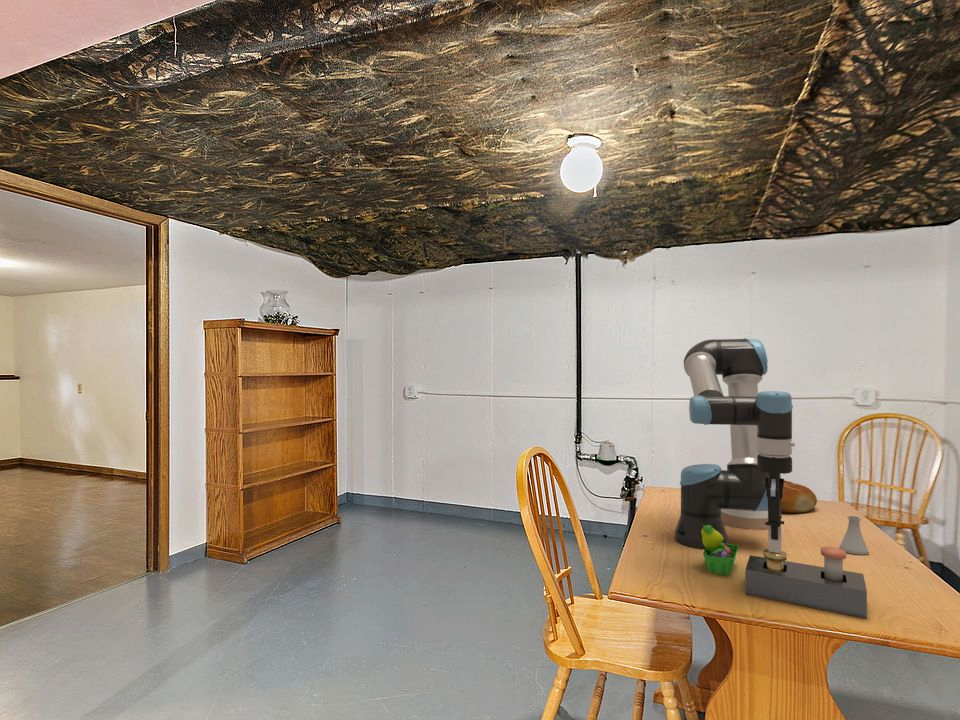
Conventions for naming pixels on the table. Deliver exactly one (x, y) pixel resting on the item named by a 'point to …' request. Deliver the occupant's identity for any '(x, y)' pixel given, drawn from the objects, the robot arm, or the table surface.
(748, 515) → the bowl
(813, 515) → the table surface
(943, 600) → the table surface
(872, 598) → the table surface
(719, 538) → the fruit basket
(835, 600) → the block
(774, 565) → the brass plunger
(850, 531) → the flask
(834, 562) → the red plunger
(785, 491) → the bread
